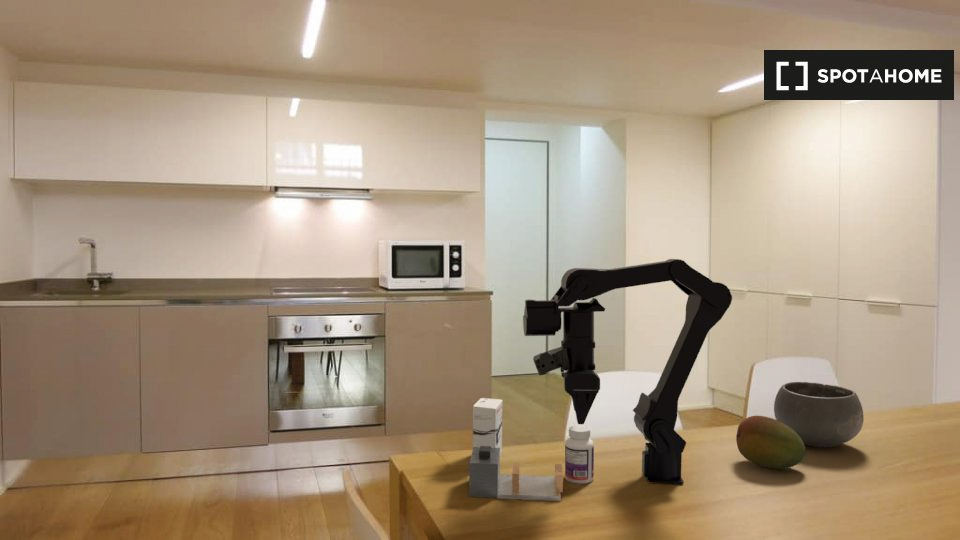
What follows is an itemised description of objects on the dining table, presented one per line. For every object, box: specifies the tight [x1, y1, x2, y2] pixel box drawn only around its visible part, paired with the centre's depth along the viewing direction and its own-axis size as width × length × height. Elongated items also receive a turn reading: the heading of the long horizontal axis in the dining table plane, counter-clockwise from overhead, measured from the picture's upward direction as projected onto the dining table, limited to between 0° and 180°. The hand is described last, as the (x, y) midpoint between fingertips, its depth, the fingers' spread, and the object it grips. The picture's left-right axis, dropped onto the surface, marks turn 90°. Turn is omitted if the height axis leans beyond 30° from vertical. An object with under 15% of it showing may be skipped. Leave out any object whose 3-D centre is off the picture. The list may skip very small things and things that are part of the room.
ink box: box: [472, 397, 503, 456], centre depth 136 cm, size 8×5×12 cm, turn 168°
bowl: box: [773, 381, 864, 448], centre depth 147 cm, size 18×18×13 cm
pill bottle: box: [564, 425, 595, 485], centre depth 124 cm, size 5×5×10 cm
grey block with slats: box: [468, 446, 564, 502], centre depth 119 cm, size 16×10×7 cm, turn 86°
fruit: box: [735, 415, 806, 470], centre depth 133 cm, size 12×12×10 cm
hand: (578, 417), depth 124 cm, fingers open, 9 cm apart
